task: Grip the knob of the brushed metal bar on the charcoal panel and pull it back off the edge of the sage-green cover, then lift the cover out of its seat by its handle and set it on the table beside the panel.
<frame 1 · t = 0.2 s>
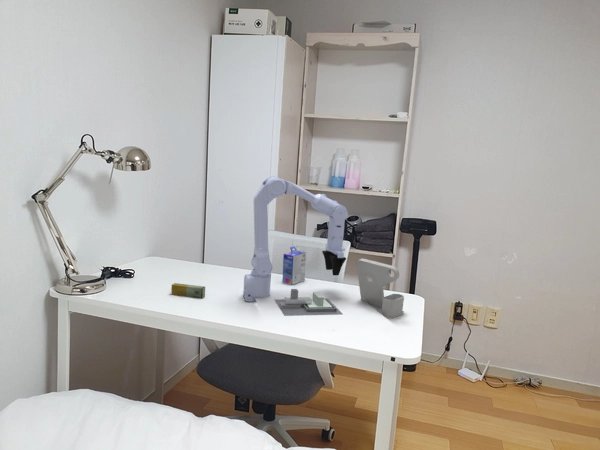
hand: (332, 272, 172), 10 cm above the table, tool pointing down, fingers open, 7 cm apart
cover: (317, 306, 159), point 1 cm above the table, touching panel
medication box: (188, 296, 165), on the table
panel: (307, 310, 158), on the table
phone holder: (376, 310, 165), on the table
brushed metal bar: (298, 296, 156), point 5 cm above the table, slide at 0.0 cm
ink cartridge box: (293, 281, 192), on the table
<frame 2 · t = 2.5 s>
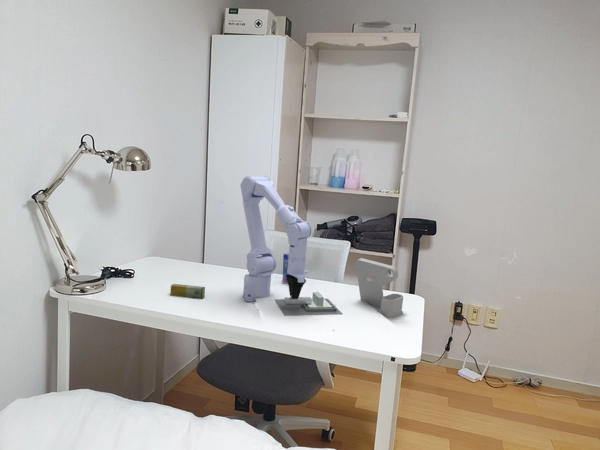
hand: (294, 297, 156), 5 cm above the table, tool pointing down, fingers closed on brushed metal bar, 2 cm apart
brushed metal bar: (298, 296, 156), point 5 cm above the table, slide at 0.0 cm, touching gripper
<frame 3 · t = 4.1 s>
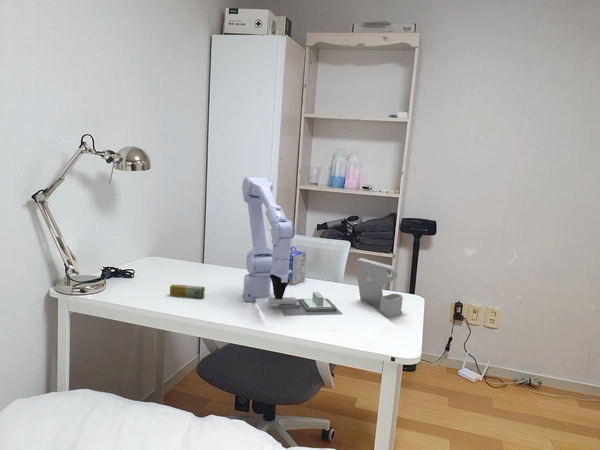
hand: (278, 297, 154), 5 cm above the table, tool pointing down, fingers closed on brushed metal bar, 2 cm apart
brushed metal bar: (282, 296, 155), point 5 cm above the table, slide at -5.5 cm, touching gripper
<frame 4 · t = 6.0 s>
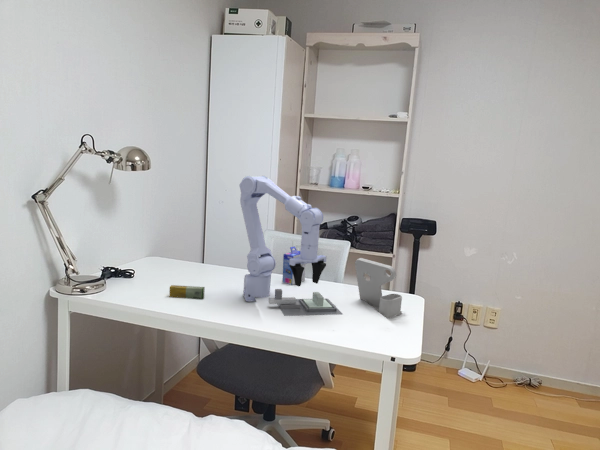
hand: (306, 284, 156), 10 cm above the table, tool pointing down, fingers open, 7 cm apart
brushed metal bar: (282, 296, 155), point 5 cm above the table, slide at -5.5 cm
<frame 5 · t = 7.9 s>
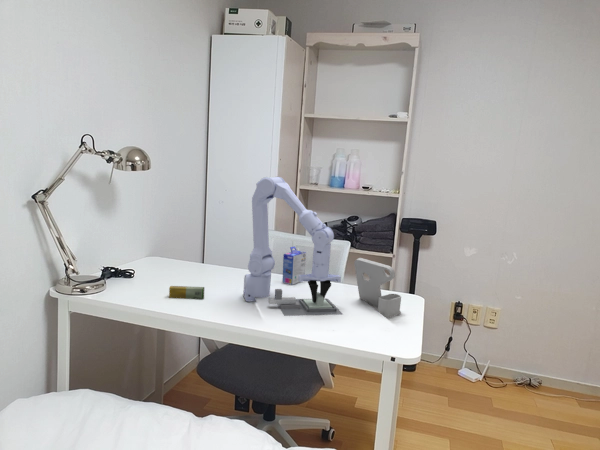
hand: (317, 301, 158), 3 cm above the table, tool pointing down, fingers closed on cover, 2 cm apart
cover: (317, 306, 159), point 1 cm above the table, touching gripper, panel
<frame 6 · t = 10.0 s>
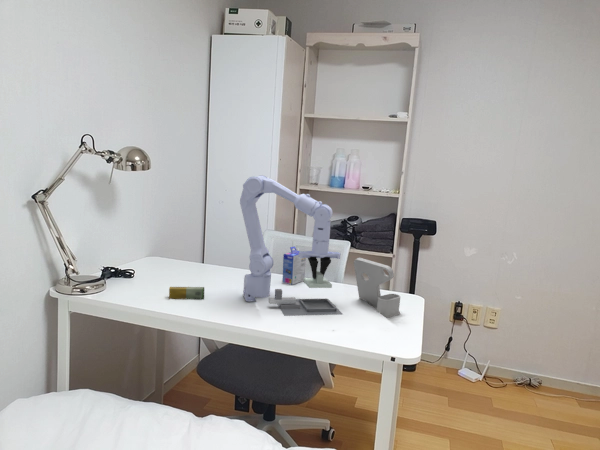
hand: (317, 278, 161), 10 cm above the table, tool pointing down, fingers closed on cover
cover: (317, 284, 162), point 8 cm above the table, touching gripper
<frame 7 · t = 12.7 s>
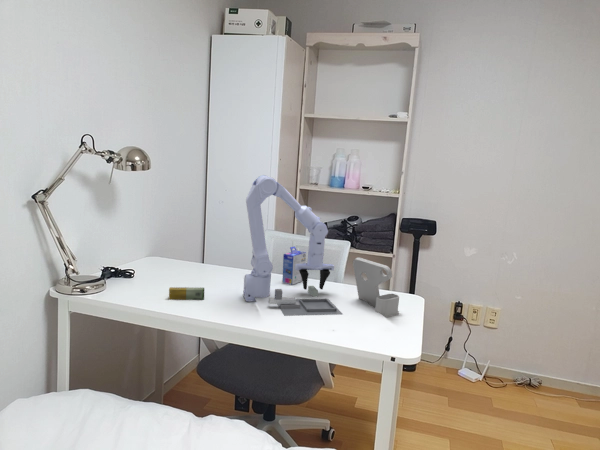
hand: (313, 288, 172), 3 cm above the table, tool pointing down, fingers open, 6 cm apart
cover: (312, 298, 173), on the table
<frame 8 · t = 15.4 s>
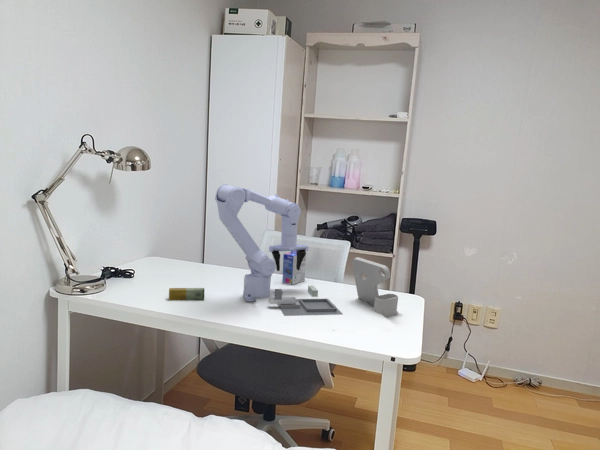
hand: (288, 269, 173), 9 cm above the table, tool pointing down, fingers open, 7 cm apart
at the end: brushed metal bar slide at -5.5 cm; cover inside the target area (0.1 cm from its centre), on the table; the gripper is holding nothing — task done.
